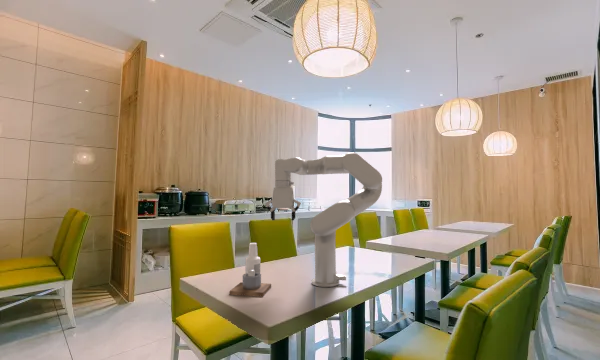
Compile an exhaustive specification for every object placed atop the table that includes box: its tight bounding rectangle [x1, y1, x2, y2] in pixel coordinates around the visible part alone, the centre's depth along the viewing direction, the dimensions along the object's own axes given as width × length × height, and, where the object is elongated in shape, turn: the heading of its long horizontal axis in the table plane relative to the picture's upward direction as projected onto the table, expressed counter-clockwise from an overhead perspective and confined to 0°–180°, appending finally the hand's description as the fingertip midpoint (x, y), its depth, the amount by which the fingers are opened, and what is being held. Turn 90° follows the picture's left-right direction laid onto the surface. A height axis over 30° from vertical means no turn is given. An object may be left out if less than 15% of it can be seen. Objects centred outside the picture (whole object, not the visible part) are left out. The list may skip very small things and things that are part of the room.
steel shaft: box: [248, 269, 255, 276], centre depth 117 cm, size 3×3×7 cm
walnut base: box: [228, 281, 272, 297], centre depth 117 cm, size 14×12×2 cm
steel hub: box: [242, 272, 262, 290], centre depth 117 cm, size 7×7×5 cm
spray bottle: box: [244, 242, 261, 274], centre depth 129 cm, size 7×7×18 cm
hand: (283, 220), depth 134 cm, fingers open, 9 cm apart
